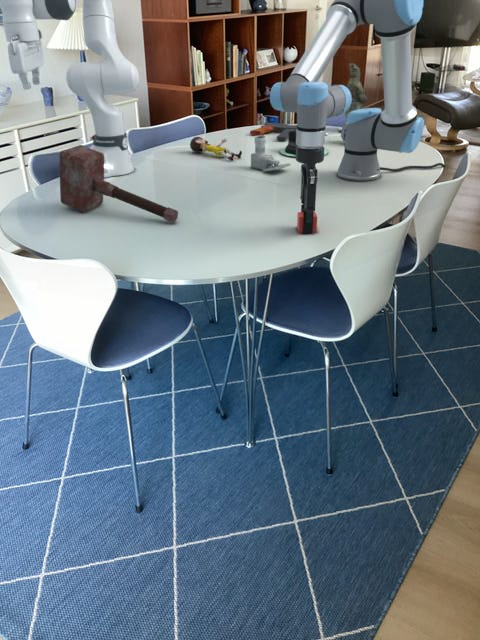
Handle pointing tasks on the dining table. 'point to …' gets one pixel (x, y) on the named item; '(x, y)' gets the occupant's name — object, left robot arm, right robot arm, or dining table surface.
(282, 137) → the submachine gun
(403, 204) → the dining table surface
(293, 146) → the dark green rounded hat
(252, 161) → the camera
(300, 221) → the block
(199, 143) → the figurine
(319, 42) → the right robot arm
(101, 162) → the sledgehammer
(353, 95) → the statue
